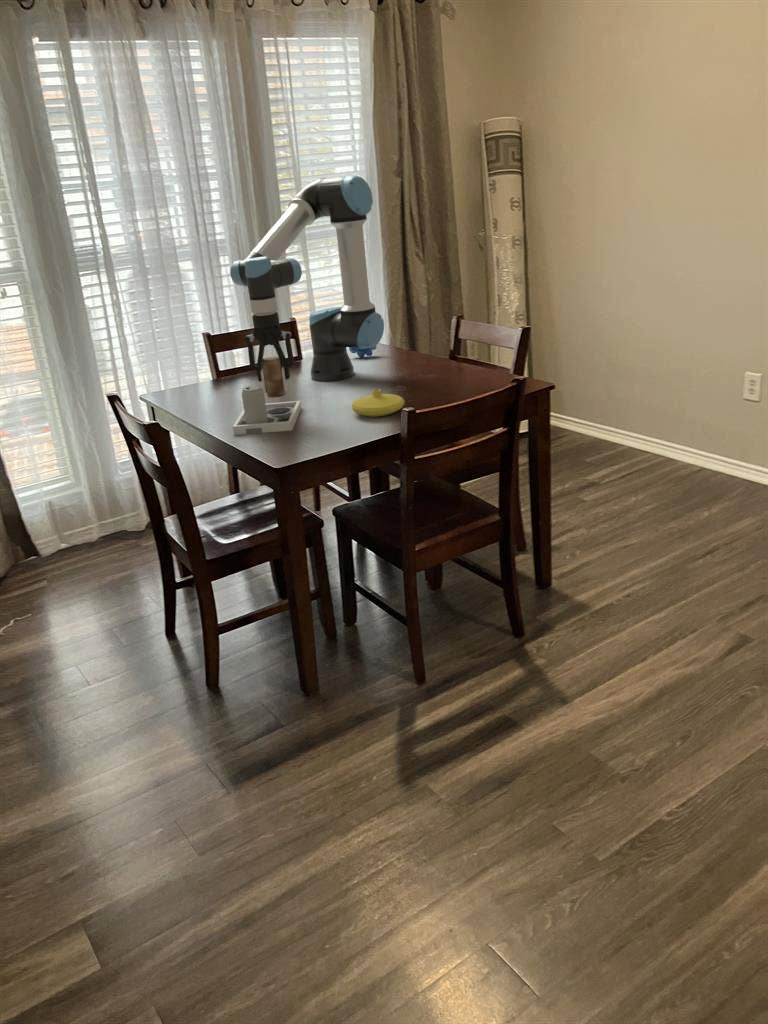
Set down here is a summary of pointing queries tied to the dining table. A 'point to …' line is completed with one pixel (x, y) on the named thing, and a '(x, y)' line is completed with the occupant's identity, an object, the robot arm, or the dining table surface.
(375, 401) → the yellow lid
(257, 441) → the dining table surface
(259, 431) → the white tray
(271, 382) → the brown cylinder
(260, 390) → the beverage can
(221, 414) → the dining table surface
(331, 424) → the dining table surface
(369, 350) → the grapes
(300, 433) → the dining table surface
